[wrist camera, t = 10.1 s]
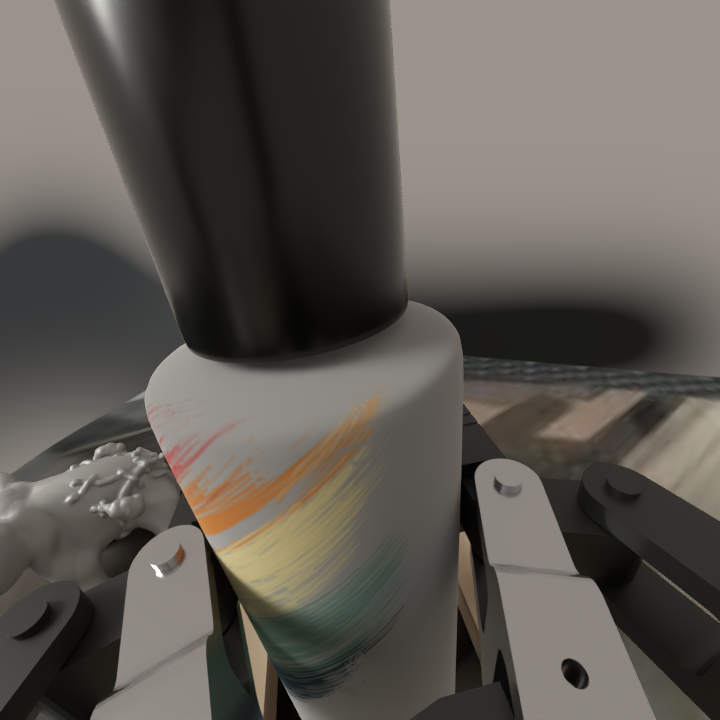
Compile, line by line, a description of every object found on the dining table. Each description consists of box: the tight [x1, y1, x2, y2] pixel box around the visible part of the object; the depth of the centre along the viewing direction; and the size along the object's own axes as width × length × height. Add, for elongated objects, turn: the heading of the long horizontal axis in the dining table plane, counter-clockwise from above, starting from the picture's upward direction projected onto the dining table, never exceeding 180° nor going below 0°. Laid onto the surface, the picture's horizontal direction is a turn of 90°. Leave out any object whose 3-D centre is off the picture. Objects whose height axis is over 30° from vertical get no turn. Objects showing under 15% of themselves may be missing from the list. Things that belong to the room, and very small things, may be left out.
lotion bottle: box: [55, 0, 463, 720], centre depth 8 cm, size 6×6×20 cm
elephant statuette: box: [0, 443, 181, 595], centre depth 18 cm, size 9×12×8 cm
